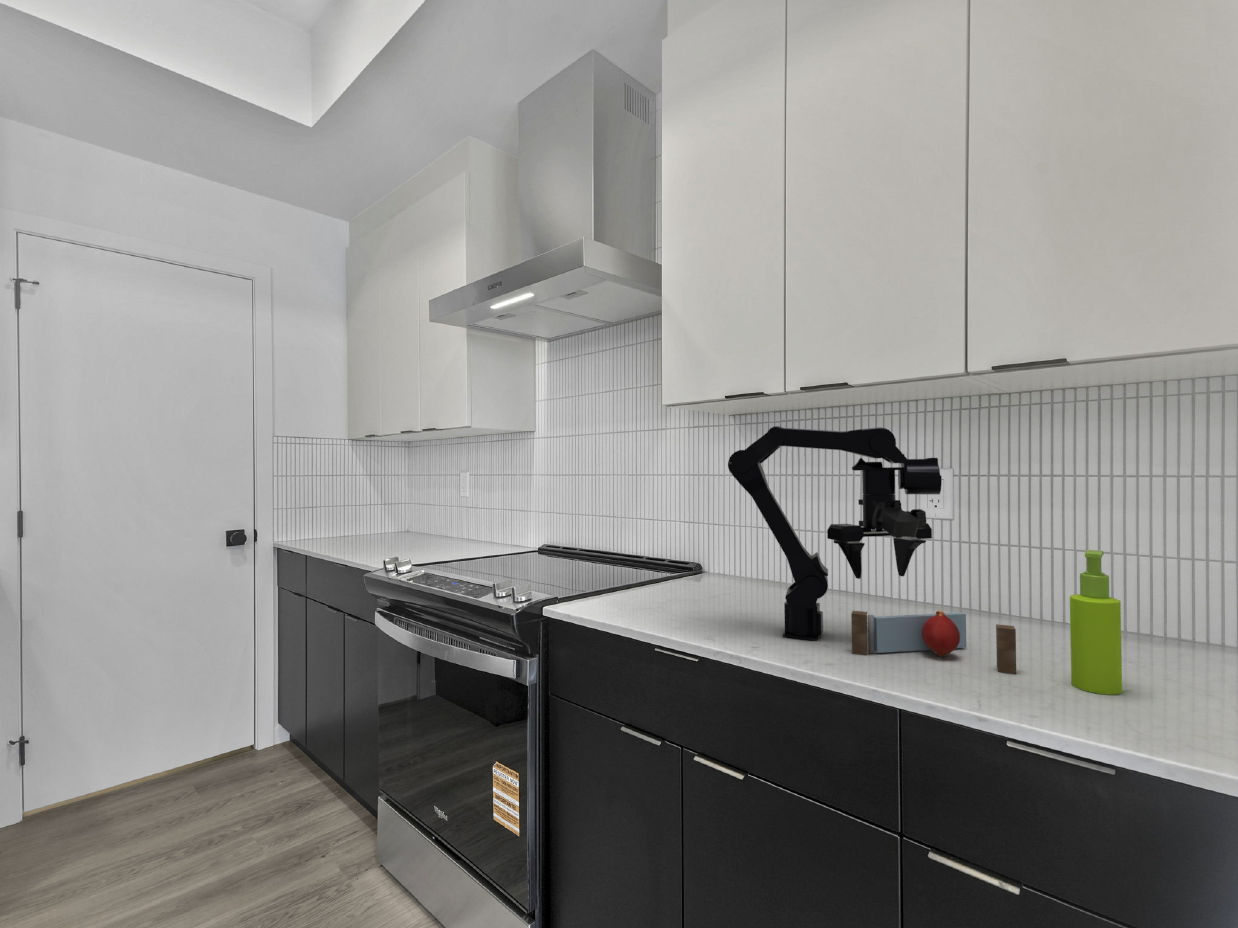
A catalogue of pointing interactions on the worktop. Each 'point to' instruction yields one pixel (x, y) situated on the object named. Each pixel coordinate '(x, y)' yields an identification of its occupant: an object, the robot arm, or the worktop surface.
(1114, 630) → the soap dispenser
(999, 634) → the door frame
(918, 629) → the door
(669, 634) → the worktop surface
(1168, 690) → the worktop surface
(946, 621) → the onion
